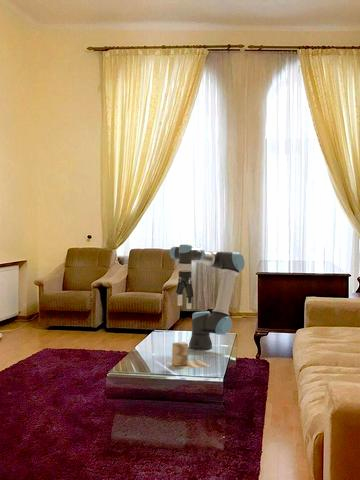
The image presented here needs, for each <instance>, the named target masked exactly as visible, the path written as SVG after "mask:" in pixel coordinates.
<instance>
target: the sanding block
mask: <svg viewBox="0 0 360 480" xmlns="http://www.w3.org/2000/svg"><path fill="white" fill-rule="evenodd" d="M188 348H189V343H187V342H185V341H181V342H180V341H178V342H172V347H171V349H172V353H171V354H172V355H171V357H172V358H171V362H172V365H174V366H175V367H177V366H187V361H188V357H189V356H188V354H189V353H188V351H189V350H188Z"/></svg>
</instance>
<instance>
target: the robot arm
mask: <svg viewBox="0 0 360 480" xmlns="http://www.w3.org/2000/svg"><path fill="white" fill-rule="evenodd" d="M169 256H170V258H171V259H174V260H178V270H179V271H178V280H177V281H178V282H177V287H176V291H175V293H176V294H177V306H179V307H180V306H183V294H184V293H183V291H184V290H185V291H186V292H185V293H186V309H187V310H192V305H193V304H192V298H193V297H194V290H193V285H192V280H191V278H192V266H193V265H192V262H194V263H197V264H198V263H199V264H202V265H203V264H204V265H205V266H206V267H211V268H215V269H219V270H220V271H221V272H222V276H221V281H220V285H219V289H218V293H217V298H216V302H215V308H214V309H212V310H211V312H210V311H196V312H193V313H192V316H191V317H192V318H191V337H190V339H189V342H188V348H189V349H193V350H202V351H203V350H210V349H213V342H212V339H211V334H216V335H219V336H220V335H223V336H225V335H227V334H228V333H229V332H230V331H231V329H232V325H233V321H232V318H231V317H230V316H231V314H230V313H229V309H230V305H231V301H232V300H231V299H232V295H233V292H234V286H235V281H236V277H237V276H239V274H240V272H241V271H243V270H244V268H245V259H244V255H242V253H241V252H236V251H205V249H204V248H202V247H193V245H192V244H180V245H179V246H172V247H170V250H169Z"/></svg>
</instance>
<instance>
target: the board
mask: <svg viewBox="0 0 360 480" xmlns="http://www.w3.org/2000/svg"><path fill="white" fill-rule="evenodd" d="M166 364H167V365H169V366H170V367H172V368H174V369H175V370H185V369H186V370H187V369H197V368H207V367H208V368H209V367H210V368H211V365H209V364H207V363H205V362H204V361H201V360H199V359H193V360H191V359H190V360H187V366H177V367H175V366H174V365H172V361H168V362H166Z"/></svg>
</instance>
